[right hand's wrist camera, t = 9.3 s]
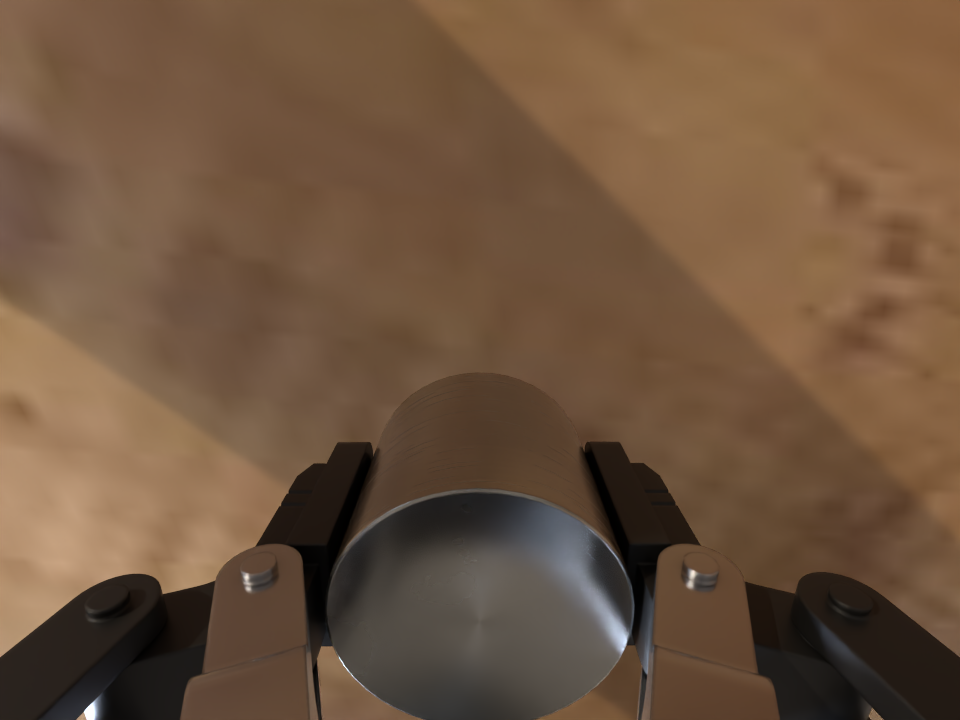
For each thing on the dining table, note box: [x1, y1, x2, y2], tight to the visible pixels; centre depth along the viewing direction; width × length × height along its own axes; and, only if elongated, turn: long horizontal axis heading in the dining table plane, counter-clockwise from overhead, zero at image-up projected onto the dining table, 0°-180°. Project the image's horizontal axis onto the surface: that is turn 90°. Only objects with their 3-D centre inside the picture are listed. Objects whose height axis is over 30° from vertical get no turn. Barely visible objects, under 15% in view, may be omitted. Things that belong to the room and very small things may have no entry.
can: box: [324, 373, 635, 720], centre depth 10 cm, size 5×5×5 cm
